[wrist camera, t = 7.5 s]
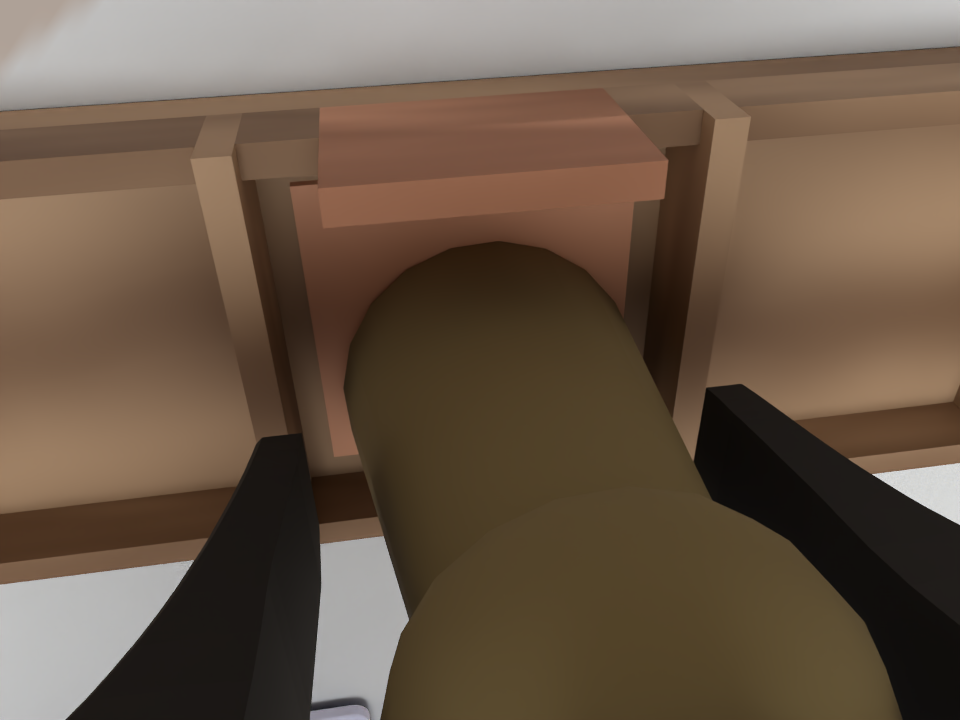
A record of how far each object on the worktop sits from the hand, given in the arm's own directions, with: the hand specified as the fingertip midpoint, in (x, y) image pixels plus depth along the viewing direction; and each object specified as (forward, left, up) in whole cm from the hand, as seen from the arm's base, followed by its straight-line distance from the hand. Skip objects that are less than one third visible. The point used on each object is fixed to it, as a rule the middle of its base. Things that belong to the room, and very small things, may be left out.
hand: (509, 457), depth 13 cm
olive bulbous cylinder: (-1, 0, -4) cm, 4 cm away
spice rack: (0, 0, -5) cm, 5 cm away
